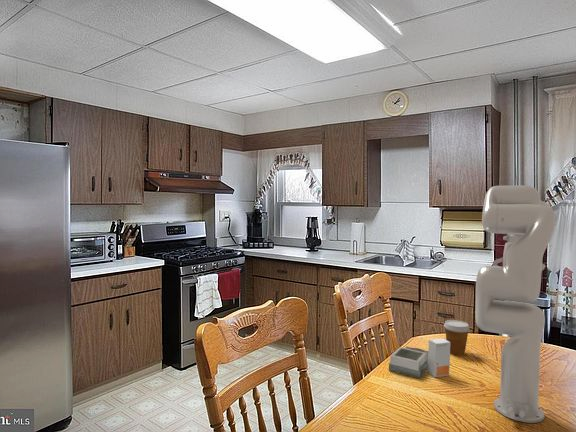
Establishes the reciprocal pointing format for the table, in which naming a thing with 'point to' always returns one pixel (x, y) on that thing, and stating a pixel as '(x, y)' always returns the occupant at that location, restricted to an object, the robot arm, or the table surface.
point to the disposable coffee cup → (456, 336)
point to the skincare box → (439, 357)
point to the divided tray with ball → (409, 361)
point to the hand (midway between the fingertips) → (517, 285)
